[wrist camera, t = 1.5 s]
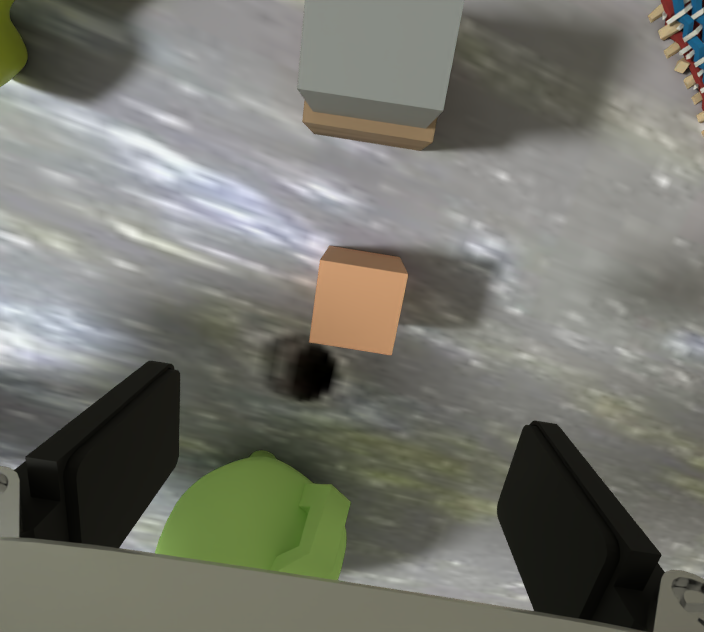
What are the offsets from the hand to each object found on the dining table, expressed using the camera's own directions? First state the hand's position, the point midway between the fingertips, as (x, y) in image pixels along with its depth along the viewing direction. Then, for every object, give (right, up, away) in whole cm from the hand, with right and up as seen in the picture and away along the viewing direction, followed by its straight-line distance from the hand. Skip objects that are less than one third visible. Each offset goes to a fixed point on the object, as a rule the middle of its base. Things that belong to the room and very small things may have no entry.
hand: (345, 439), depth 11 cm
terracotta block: (+1, +5, +18) cm, 19 cm away
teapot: (-7, -13, +24) cm, 29 cm away
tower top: (+2, +16, +9) cm, 19 cm away
